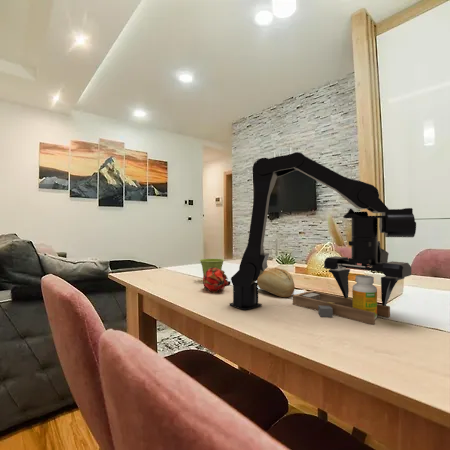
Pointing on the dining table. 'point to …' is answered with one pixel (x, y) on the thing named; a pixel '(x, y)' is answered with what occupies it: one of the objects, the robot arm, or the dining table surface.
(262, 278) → the bread roll
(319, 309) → the gray block
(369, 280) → the supplement bottle
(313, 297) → the steel counterweight
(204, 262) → the plant pot
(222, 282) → the dragon fruit
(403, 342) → the dining table surface
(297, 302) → the walnut beam
